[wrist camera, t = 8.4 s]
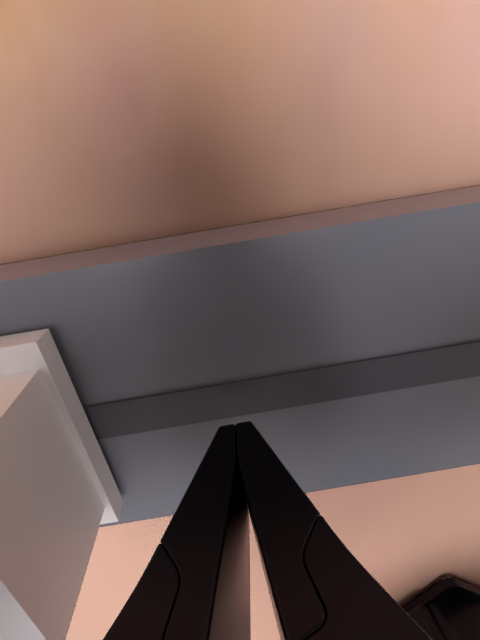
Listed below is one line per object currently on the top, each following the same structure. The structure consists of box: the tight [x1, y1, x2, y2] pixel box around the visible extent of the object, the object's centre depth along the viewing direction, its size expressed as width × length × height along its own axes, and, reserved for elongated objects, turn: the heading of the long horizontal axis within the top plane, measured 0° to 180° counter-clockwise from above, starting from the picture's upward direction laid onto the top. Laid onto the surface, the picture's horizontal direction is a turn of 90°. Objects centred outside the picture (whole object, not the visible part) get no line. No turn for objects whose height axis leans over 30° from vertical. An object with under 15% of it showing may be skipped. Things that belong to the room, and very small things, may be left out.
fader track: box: [0, 185, 480, 527], centre depth 11 cm, size 28×9×2 cm, turn 98°
